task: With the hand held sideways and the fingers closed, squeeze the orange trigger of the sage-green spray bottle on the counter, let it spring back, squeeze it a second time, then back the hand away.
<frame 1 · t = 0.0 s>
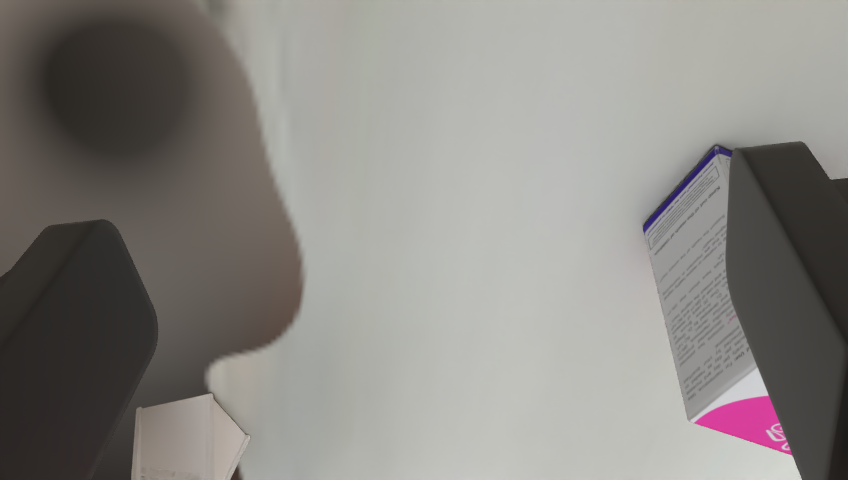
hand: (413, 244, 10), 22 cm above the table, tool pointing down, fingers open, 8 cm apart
supplement box: (723, 206, 39), on the table
skyscraper: (192, 420, 53), on the table
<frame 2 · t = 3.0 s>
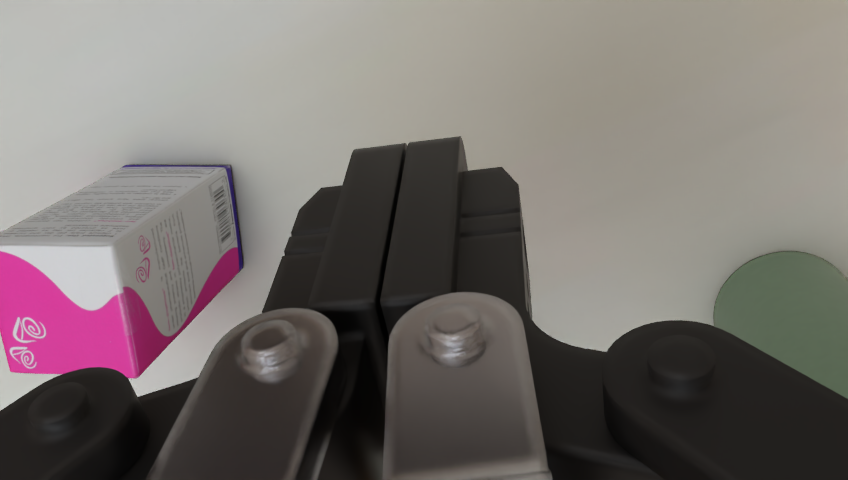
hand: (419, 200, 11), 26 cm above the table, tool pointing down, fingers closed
supplement box: (185, 216, 41), on the table
spray bottle: (782, 313, 39), on the table
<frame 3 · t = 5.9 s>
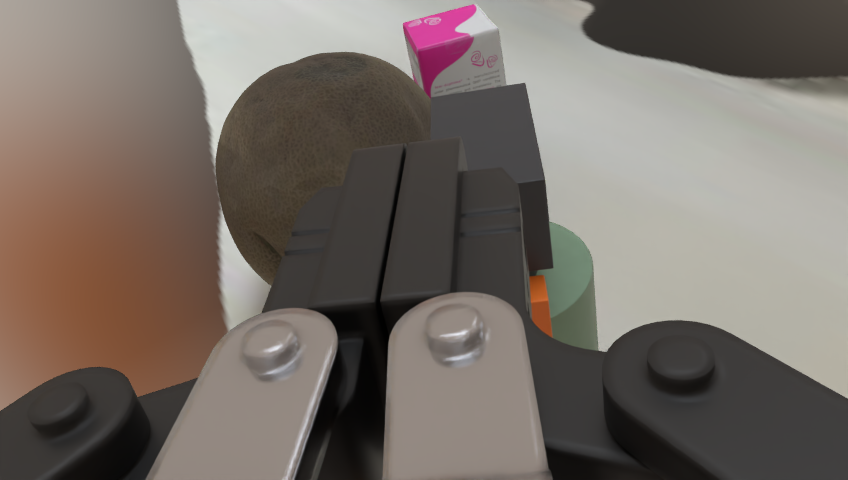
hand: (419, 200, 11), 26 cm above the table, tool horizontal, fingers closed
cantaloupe: (367, 281, 53), on the table
supplement box: (472, 167, 62), on the table
trigger: (507, 324, 24), point 16 cm above the table, slide at 0.0 cm
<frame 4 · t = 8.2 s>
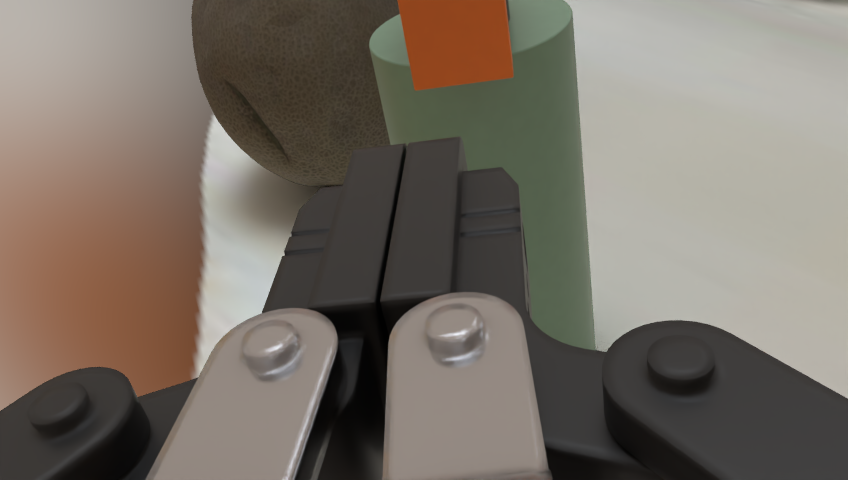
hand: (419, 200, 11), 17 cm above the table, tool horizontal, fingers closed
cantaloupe: (355, 169, 49), on the table
trigger: (457, 28, 21), point 16 cm above the table, slide at 0.0 cm
spray bottle: (516, 355, 33), on the table
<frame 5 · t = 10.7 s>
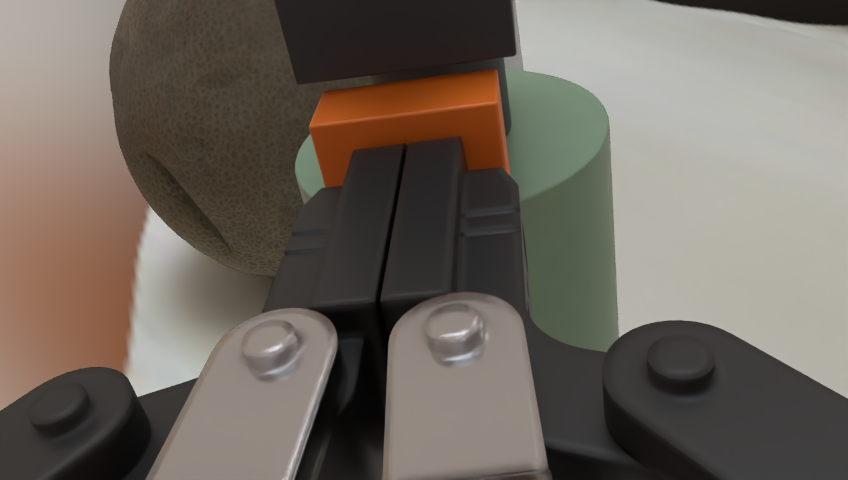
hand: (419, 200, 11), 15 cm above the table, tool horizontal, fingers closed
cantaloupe: (321, 246, 40), on the table
supplement box: (473, 121, 49), on the table
trigger: (420, 175, 12), point 16 cm above the table, slide at 0.2 cm, touching gripper
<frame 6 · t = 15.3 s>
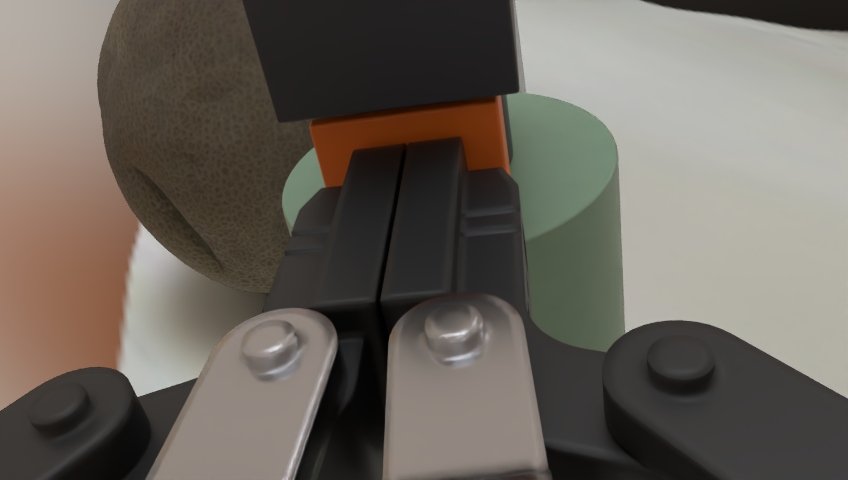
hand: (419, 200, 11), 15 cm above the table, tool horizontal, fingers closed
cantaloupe: (317, 259, 39), on the table
supplement box: (473, 129, 48), on the table
trigger: (420, 175, 12), point 15 cm above the table, slide at 1.4 cm, touching gripper
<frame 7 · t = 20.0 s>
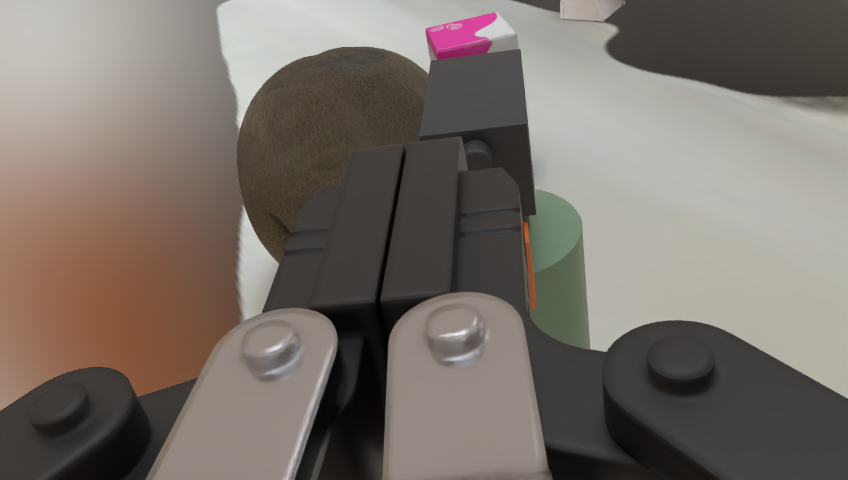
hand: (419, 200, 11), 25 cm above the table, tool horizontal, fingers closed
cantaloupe: (379, 272, 54), on the table
supplement box: (489, 172, 63), on the table
skyscraper: (593, 12, 89), on the table
trigger: (491, 269, 26), point 15 cm above the table, slide at 0.0 cm
spray bottle: (529, 476, 38), on the table
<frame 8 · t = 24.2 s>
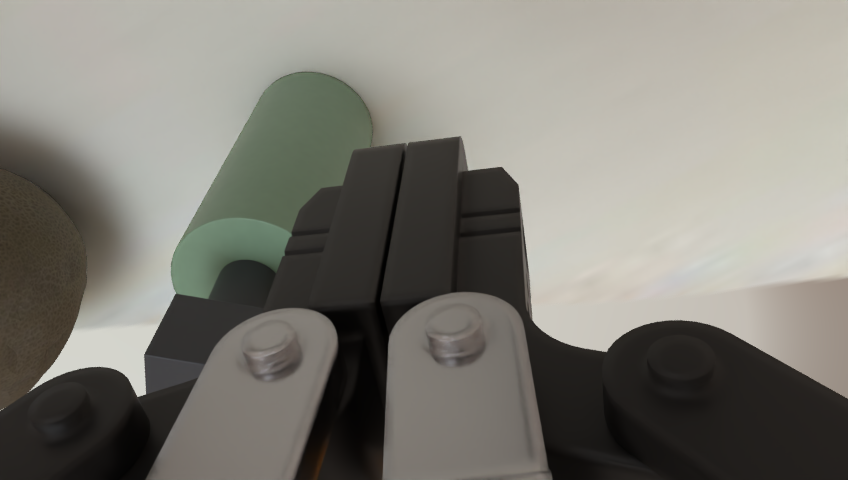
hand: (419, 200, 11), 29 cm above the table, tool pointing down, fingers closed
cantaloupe: (6, 211, 48), on the table
spray bottle: (313, 127, 43), on the table
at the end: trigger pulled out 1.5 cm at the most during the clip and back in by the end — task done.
